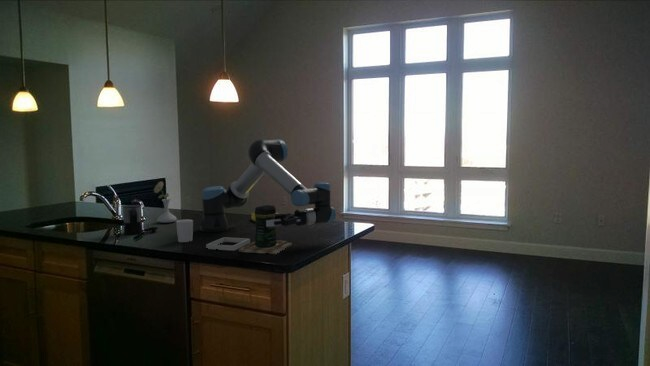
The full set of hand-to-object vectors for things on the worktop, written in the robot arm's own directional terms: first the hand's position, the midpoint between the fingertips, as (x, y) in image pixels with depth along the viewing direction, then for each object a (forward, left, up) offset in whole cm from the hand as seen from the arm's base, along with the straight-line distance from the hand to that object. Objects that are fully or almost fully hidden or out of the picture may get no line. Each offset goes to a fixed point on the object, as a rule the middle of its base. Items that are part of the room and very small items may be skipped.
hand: (261, 221), depth 213 cm
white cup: (-44, +6, -13) cm, 46 cm away
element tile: (-30, +70, -13) cm, 77 cm away
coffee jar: (+1, +2, -12) cm, 12 cm away
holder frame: (-18, +2, -13) cm, 22 cm away
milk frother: (-79, +17, -13) cm, 81 cm away
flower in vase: (-85, +47, -13) cm, 97 cm away
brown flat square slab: (+1, +2, -13) cm, 13 cm away
